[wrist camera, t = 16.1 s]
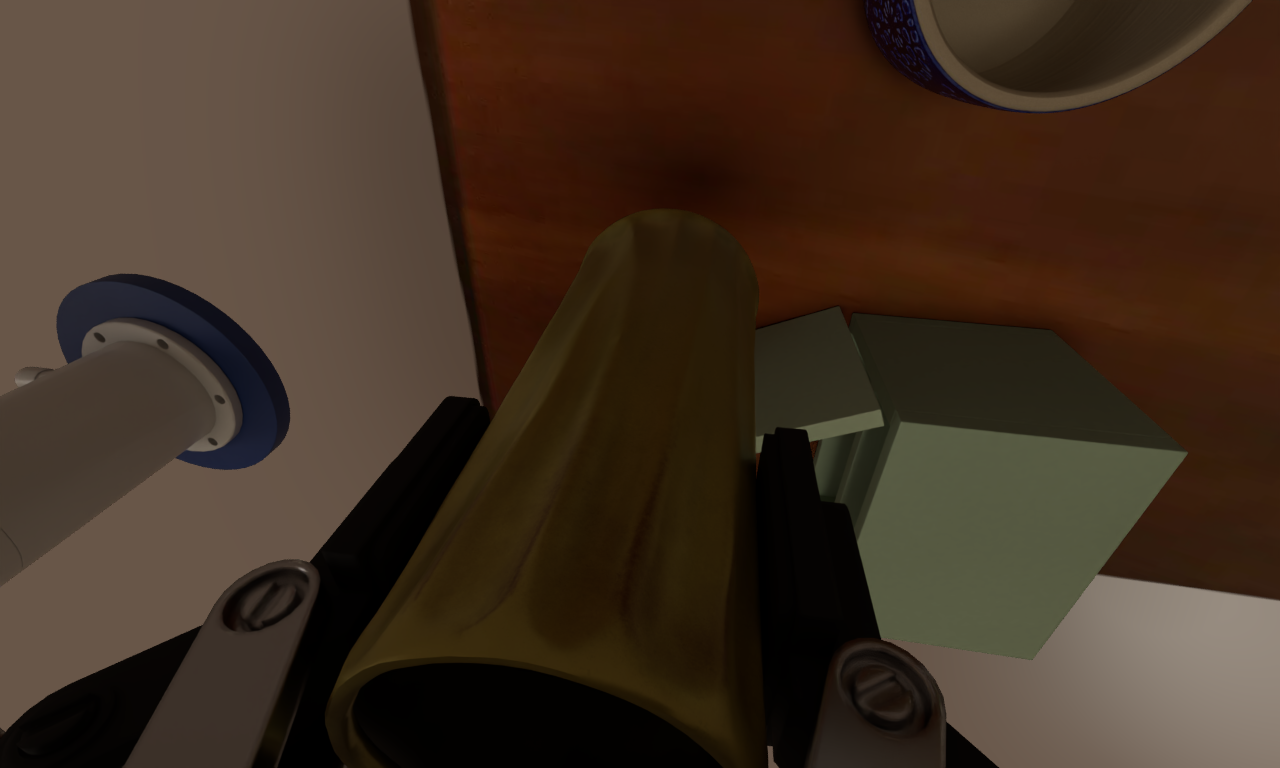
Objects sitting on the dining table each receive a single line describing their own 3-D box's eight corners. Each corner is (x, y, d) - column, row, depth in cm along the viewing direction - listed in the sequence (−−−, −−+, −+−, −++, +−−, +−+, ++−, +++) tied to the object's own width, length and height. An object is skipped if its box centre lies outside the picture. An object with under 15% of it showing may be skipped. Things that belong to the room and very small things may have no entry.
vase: (570, 356, 20) (325, 822, 8) (588, 187, 17) (210, 553, 5) (731, 391, 20) (729, 924, 8) (782, 227, 16) (919, 722, 4)
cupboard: (804, 493, 43) (825, 629, 33) (852, 312, 34) (900, 421, 24) (961, 513, 42) (1032, 660, 32) (1052, 329, 33) (1189, 452, 23)
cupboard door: (578, 295, 37) (521, 386, 27) (817, 213, 31) (854, 288, 22) (620, 380, 40) (582, 490, 30) (842, 319, 35) (885, 426, 25)
